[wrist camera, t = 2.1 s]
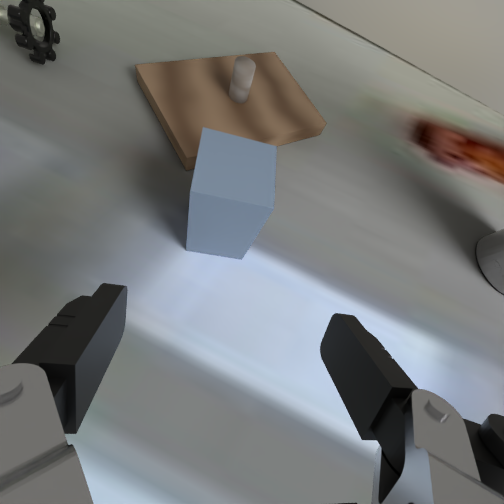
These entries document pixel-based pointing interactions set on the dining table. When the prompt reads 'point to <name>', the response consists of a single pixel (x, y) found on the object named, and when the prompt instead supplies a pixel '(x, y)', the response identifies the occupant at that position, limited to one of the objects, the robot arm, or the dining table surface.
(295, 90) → the post plate
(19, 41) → the valve
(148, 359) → the dining table surface
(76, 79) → the dining table surface
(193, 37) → the dining table surface
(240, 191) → the block
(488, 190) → the dining table surface
